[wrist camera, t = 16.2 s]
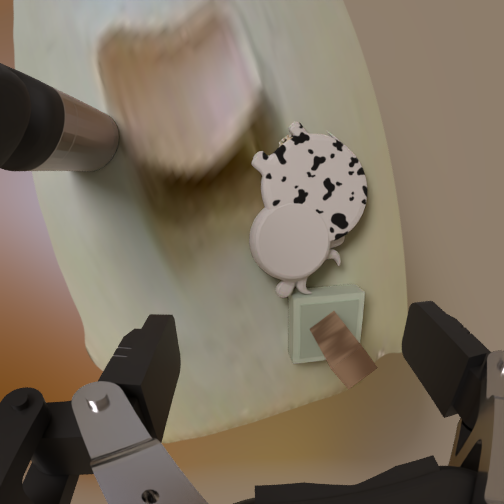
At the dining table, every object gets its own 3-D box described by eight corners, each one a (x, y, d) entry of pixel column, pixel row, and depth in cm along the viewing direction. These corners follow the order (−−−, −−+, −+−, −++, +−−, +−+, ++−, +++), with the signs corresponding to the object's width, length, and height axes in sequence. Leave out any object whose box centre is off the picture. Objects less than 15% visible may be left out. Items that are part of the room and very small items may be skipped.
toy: (196, 209, 45) (289, 307, 48) (195, 208, 40) (297, 315, 44) (303, 114, 46) (383, 210, 49) (313, 104, 41) (399, 210, 44)
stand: (288, 351, 51) (293, 364, 47) (288, 289, 49) (293, 299, 45) (350, 343, 52) (359, 355, 48) (355, 283, 49) (365, 292, 45)
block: (325, 348, 47) (348, 389, 36) (309, 328, 46) (331, 369, 35) (348, 330, 46) (377, 367, 36) (333, 310, 45) (361, 346, 35)
